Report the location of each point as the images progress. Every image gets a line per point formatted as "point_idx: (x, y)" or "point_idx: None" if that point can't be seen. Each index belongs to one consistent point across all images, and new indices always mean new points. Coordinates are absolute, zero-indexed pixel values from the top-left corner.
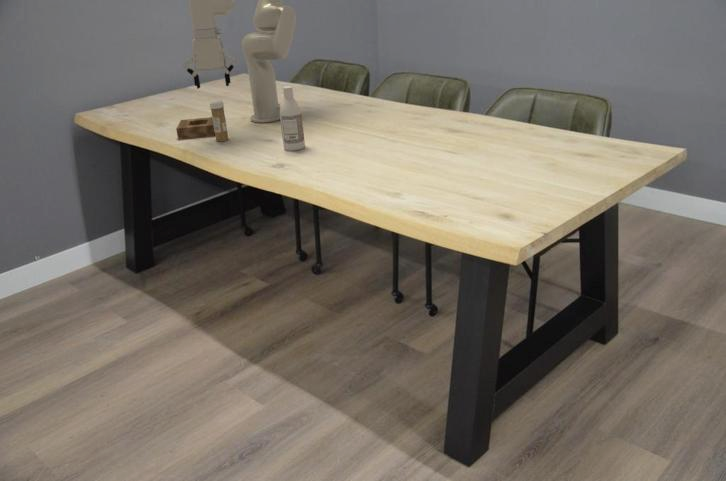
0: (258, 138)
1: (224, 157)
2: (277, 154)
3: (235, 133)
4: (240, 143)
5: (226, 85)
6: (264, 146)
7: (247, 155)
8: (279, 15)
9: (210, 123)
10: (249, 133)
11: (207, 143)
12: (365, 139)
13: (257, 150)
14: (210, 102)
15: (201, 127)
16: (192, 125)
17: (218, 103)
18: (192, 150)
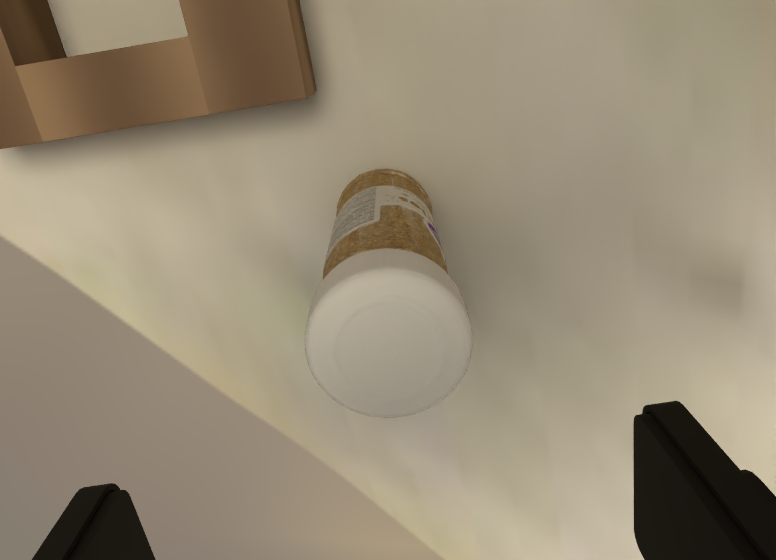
0: (649, 217)
1: (477, 536)
2: None
3: (450, 37)
4: (531, 312)
5: (644, 542)
6: (690, 393)
7: (598, 522)
8: None
9: (227, 28)
10: (570, 62)
11: (293, 275)
12: None
13: None
14: (314, 357)
15: (173, 118)
16: (62, 71)
17: (431, 405)
18: (243, 404)
